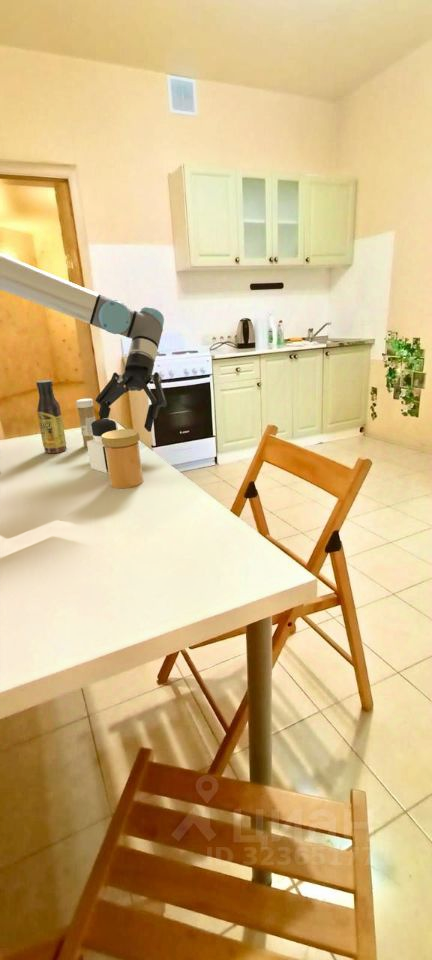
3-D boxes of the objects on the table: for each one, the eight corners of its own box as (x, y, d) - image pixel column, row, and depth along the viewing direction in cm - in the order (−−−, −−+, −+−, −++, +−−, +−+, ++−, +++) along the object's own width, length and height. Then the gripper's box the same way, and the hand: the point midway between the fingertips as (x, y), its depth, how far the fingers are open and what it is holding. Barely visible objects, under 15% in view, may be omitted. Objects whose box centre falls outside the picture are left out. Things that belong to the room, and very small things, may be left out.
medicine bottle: (107, 474, 106) (99, 424, 102) (90, 468, 111) (82, 421, 106) (131, 465, 111) (124, 418, 107) (114, 461, 115) (107, 415, 111)
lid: (146, 438, 98) (145, 430, 97) (122, 448, 91) (121, 439, 91) (119, 435, 102) (118, 427, 101) (94, 445, 95) (93, 436, 95)
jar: (103, 486, 99) (96, 440, 95) (125, 475, 104) (118, 431, 101) (129, 490, 95) (122, 442, 91) (149, 478, 101) (144, 433, 97)
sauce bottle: (40, 452, 127) (25, 382, 120) (58, 446, 132) (45, 378, 125) (54, 455, 124) (39, 383, 117) (72, 449, 129) (59, 379, 122)
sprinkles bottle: (81, 445, 132) (73, 399, 127) (96, 442, 134) (89, 397, 130) (86, 448, 129) (78, 401, 124) (101, 445, 131) (94, 399, 126)
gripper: (187, 367, 124) (172, 436, 117) (108, 367, 131) (90, 433, 125) (178, 350, 117) (162, 423, 111) (95, 352, 125) (75, 420, 118)
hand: (124, 428), depth 118 cm, fingers open, 13 cm apart
